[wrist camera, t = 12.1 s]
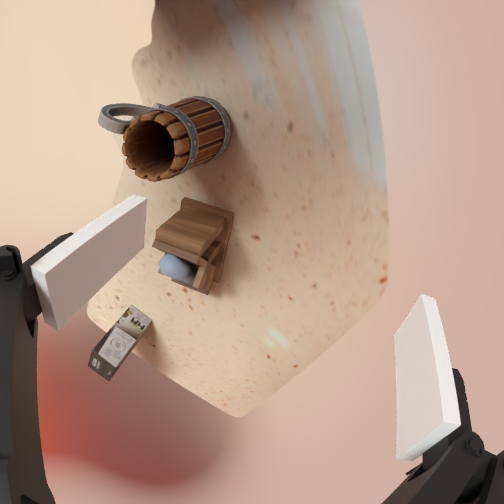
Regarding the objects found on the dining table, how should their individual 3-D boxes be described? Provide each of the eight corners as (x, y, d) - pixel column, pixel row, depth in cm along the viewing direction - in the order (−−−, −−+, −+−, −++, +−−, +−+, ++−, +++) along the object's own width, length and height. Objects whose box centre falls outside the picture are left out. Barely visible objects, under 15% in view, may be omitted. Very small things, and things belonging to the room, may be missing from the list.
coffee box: (130, 303, 72) (91, 349, 58) (152, 320, 72) (116, 368, 59) (121, 322, 77) (86, 365, 63) (141, 337, 77) (108, 382, 64)
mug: (245, 115, 45) (204, 130, 32) (215, 172, 50) (168, 207, 38) (162, 72, 44) (100, 76, 31) (139, 128, 50) (79, 149, 37)
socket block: (185, 196, 54) (147, 226, 44) (234, 212, 53) (205, 247, 43) (176, 270, 63) (145, 307, 53) (218, 286, 62) (193, 327, 52)
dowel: (187, 265, 59) (163, 251, 47) (203, 270, 59) (182, 257, 47) (181, 281, 59) (156, 272, 47) (197, 287, 58) (175, 278, 46)
